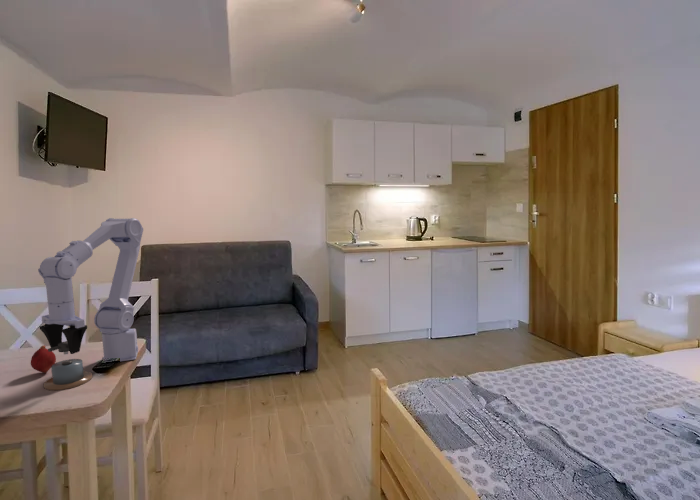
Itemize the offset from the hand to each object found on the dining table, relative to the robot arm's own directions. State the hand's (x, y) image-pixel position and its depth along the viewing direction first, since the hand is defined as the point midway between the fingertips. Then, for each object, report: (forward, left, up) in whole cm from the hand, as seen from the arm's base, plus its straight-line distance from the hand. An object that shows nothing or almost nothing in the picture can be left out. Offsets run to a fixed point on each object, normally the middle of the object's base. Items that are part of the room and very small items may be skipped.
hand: (65, 350), depth 113 cm
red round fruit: (+8, -10, -9) cm, 16 cm away
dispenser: (0, 0, -9) cm, 9 cm away
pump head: (+1, +1, -1) cm, 1 cm away
